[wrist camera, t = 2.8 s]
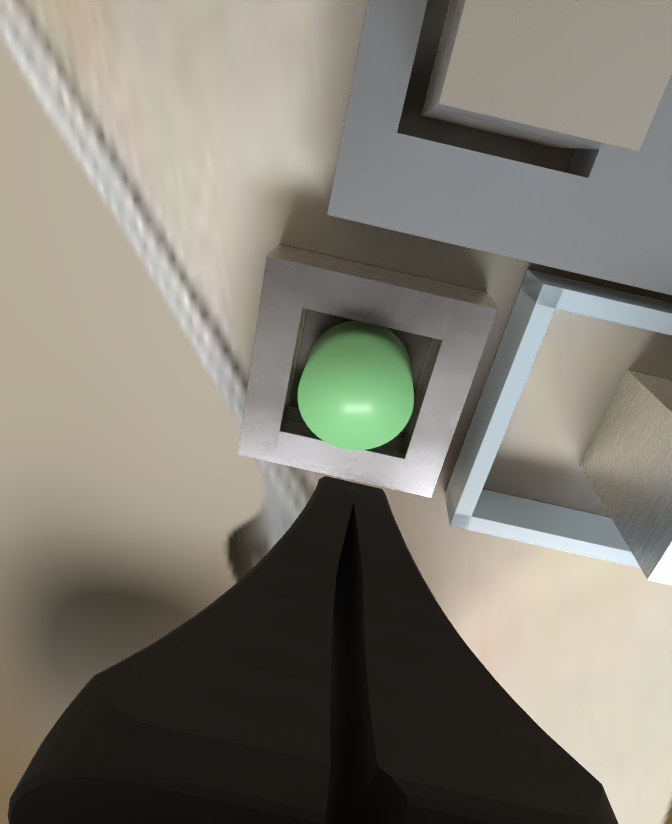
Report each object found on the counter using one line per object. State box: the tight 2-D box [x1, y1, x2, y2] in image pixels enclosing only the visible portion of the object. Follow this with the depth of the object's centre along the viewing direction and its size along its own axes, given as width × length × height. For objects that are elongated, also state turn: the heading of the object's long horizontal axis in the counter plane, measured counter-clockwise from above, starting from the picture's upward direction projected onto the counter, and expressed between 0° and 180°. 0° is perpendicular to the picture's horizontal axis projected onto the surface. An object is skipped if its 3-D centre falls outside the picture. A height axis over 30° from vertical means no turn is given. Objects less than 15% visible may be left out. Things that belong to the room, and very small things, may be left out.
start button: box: [298, 321, 414, 450], centre depth 18 cm, size 4×4×2 cm
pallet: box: [327, 0, 672, 295], centre depth 14 cm, size 16×10×2 cm, turn 78°
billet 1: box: [421, 0, 672, 151], centre depth 12 cm, size 4×4×6 cm
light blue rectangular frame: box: [445, 269, 672, 568], centre depth 19 cm, size 13×9×2 cm
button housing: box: [238, 244, 498, 498], centre depth 19 cm, size 7×7×2 cm
